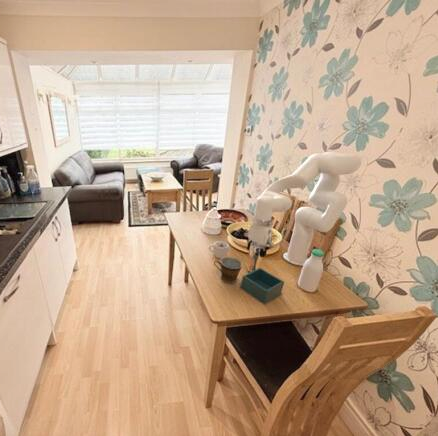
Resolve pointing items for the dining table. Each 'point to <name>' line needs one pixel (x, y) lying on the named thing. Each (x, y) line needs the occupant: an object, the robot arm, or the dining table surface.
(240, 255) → the dining table surface
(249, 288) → the tub
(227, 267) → the ceramic cup
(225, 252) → the cup
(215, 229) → the honey pot
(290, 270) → the dining table surface
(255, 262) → the beer glass
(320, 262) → the milk bottle
